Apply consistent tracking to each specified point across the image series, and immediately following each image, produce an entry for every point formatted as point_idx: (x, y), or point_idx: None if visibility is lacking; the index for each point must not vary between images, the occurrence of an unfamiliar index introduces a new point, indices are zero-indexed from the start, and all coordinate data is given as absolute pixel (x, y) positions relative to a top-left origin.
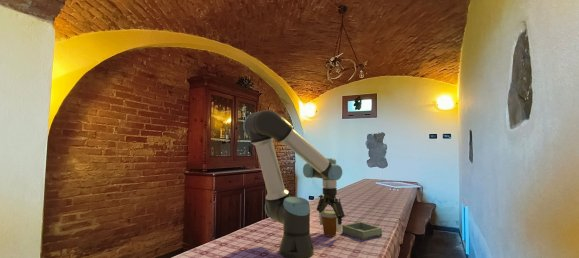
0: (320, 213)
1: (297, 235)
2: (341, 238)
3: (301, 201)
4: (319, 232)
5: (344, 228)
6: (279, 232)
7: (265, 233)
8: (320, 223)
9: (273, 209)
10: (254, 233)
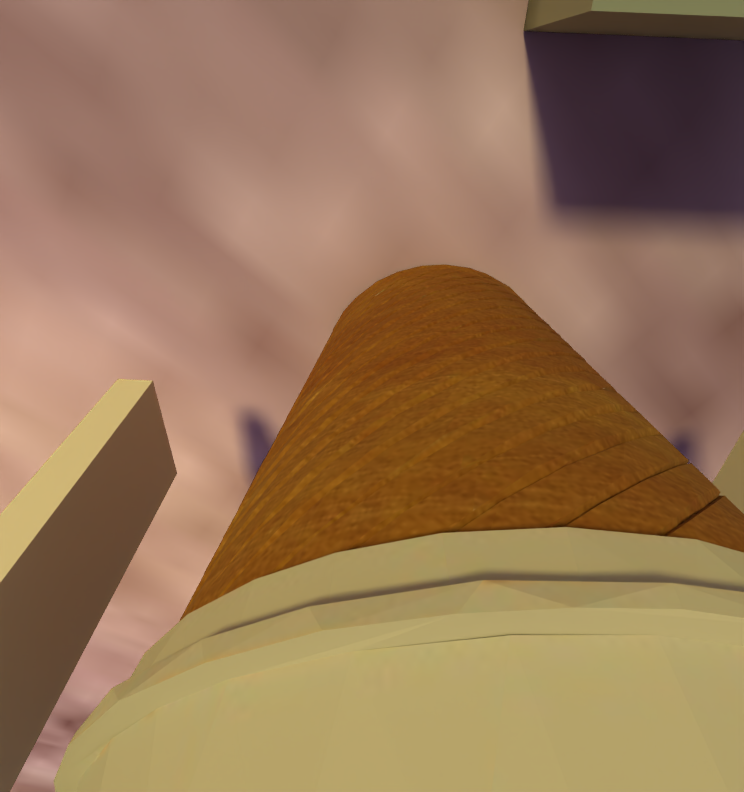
0: (11, 782)
1: None
2: (722, 356)
3: None
4: (241, 420)
5: (666, 22)
6: (69, 687)
7: (68, 743)
8: (158, 495)
9: None
10: (46, 773)
